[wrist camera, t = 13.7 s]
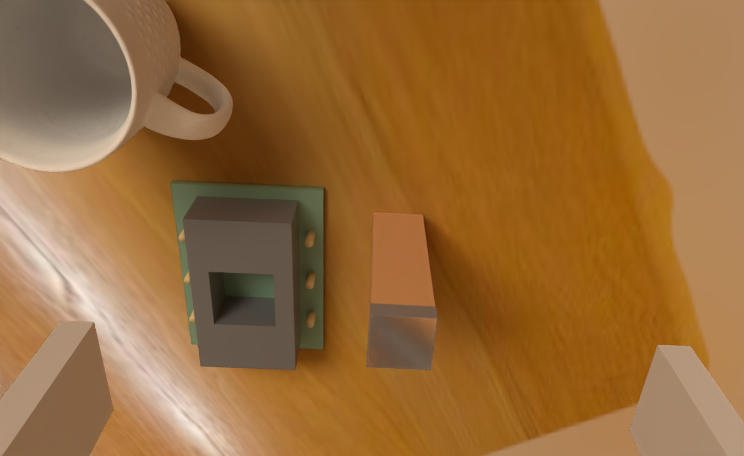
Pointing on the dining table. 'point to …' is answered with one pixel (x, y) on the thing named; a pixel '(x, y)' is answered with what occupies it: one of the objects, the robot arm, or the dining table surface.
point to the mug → (94, 81)
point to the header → (251, 271)
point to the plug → (400, 294)
